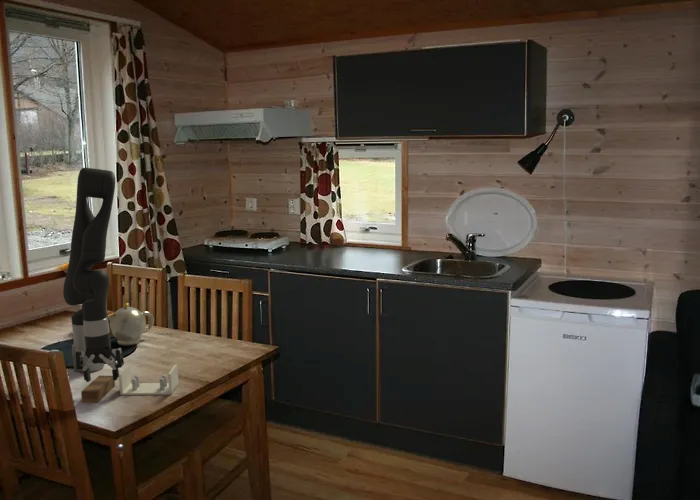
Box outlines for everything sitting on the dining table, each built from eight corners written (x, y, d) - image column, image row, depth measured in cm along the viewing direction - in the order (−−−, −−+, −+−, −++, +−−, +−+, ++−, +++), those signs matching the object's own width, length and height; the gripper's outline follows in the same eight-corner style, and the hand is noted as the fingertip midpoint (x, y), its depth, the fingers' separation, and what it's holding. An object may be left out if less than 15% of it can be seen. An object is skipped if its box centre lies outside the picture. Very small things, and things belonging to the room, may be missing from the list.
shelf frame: (120, 395, 205) (118, 374, 203) (128, 385, 212) (127, 365, 211) (172, 394, 205) (170, 373, 203) (178, 384, 212) (177, 364, 211)
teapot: (115, 351, 245) (112, 310, 242) (105, 342, 256) (101, 302, 252) (161, 341, 256) (158, 302, 252) (149, 333, 266) (146, 295, 263)
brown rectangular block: (98, 403, 199) (96, 391, 198) (82, 403, 199) (81, 391, 199) (115, 386, 212) (114, 375, 211) (100, 386, 212) (99, 375, 211)
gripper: (123, 327, 206) (127, 375, 209) (78, 329, 205) (83, 377, 208) (115, 334, 198) (120, 384, 201) (69, 336, 198) (74, 386, 201)
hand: (101, 380), depth 205 cm, fingers open, 8 cm apart
